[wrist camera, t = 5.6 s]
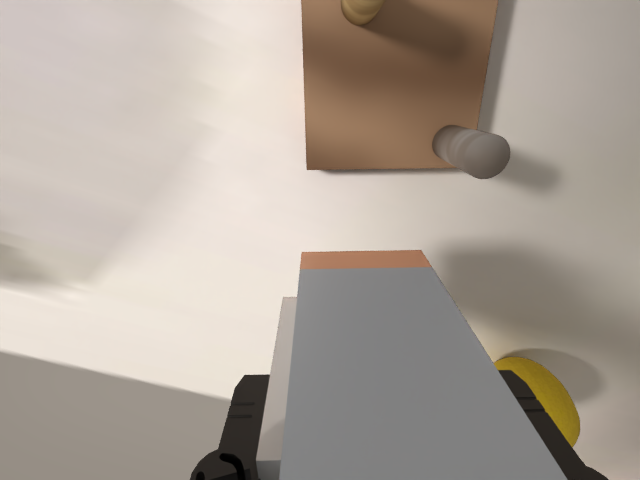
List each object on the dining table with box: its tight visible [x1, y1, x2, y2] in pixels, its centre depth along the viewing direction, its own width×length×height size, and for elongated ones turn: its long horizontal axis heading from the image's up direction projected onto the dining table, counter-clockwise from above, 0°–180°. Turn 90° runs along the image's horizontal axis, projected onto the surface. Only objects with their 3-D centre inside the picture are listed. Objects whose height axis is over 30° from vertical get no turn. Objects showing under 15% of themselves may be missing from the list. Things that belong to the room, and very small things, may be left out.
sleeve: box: [279, 250, 567, 480], centre depth 11 cm, size 5×5×10 cm
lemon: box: [493, 357, 580, 447], centre depth 25 cm, size 6×6×8 cm
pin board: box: [301, 0, 510, 179], centre depth 16 cm, size 12×10×6 cm
